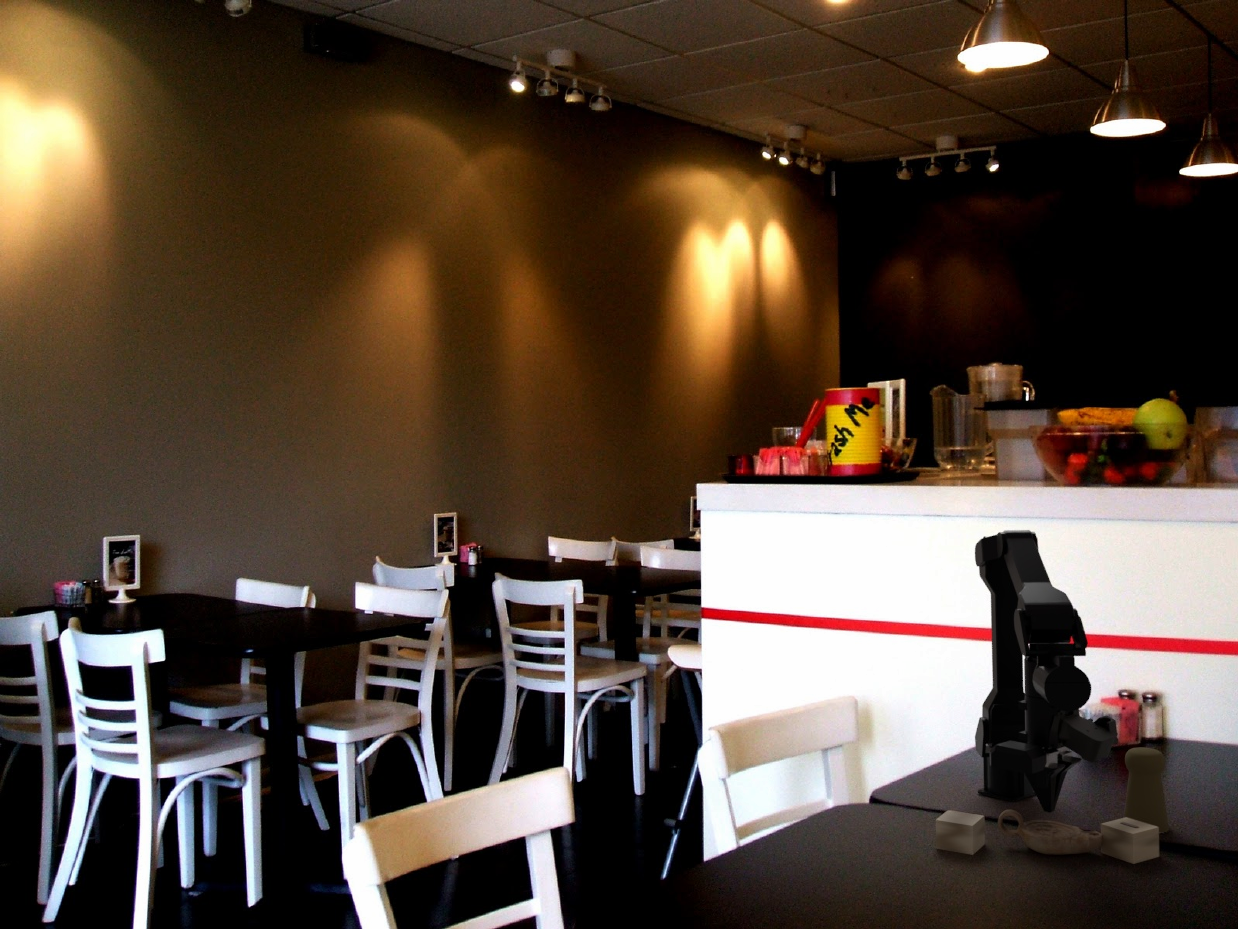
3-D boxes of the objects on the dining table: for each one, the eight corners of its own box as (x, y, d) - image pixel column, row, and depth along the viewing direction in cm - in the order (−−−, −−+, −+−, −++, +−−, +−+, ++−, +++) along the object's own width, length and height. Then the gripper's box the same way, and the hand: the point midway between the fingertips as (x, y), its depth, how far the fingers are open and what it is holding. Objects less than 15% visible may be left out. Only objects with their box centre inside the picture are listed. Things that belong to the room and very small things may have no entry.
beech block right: (1101, 854, 163) (1100, 823, 163) (1126, 847, 165) (1126, 816, 165) (1133, 865, 159) (1133, 833, 158) (1159, 857, 161) (1158, 826, 161)
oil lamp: (1104, 848, 165) (1104, 811, 165) (1100, 866, 158) (1099, 828, 158) (1002, 837, 170) (1001, 801, 170) (994, 854, 164) (993, 816, 164)
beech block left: (936, 849, 166) (935, 820, 166) (948, 839, 170) (948, 810, 170) (972, 856, 163) (972, 825, 163) (984, 845, 167) (984, 815, 167)
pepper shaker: (1174, 835, 169) (1173, 755, 169) (1127, 833, 170) (1126, 754, 170) (1163, 821, 175) (1162, 744, 175) (1118, 819, 176) (1117, 743, 176)
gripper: (1065, 715, 152) (1067, 842, 152) (1141, 693, 164) (1142, 810, 164) (986, 702, 160) (988, 821, 161) (1063, 681, 172) (1065, 792, 172)
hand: (1049, 811), depth 164 cm, fingers closed
